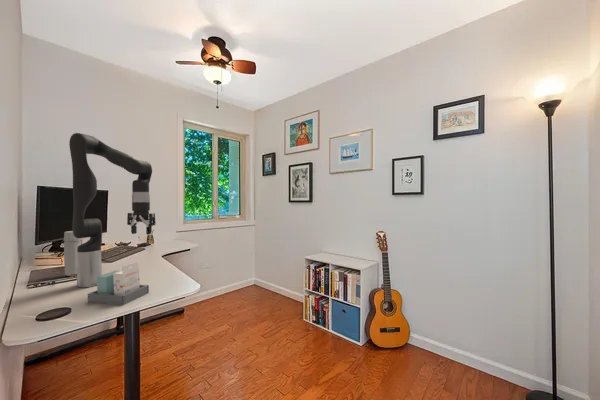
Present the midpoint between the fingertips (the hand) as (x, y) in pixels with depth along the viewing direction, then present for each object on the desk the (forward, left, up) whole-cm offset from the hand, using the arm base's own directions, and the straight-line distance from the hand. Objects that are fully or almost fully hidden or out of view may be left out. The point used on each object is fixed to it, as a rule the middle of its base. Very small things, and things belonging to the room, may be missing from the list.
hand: (141, 234), depth 127 cm
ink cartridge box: (+7, -16, -25) cm, 31 cm away
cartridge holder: (+3, -16, -26) cm, 30 cm away
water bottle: (-53, +9, -26) cm, 59 cm away
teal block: (-1, -16, -25) cm, 30 cm away
